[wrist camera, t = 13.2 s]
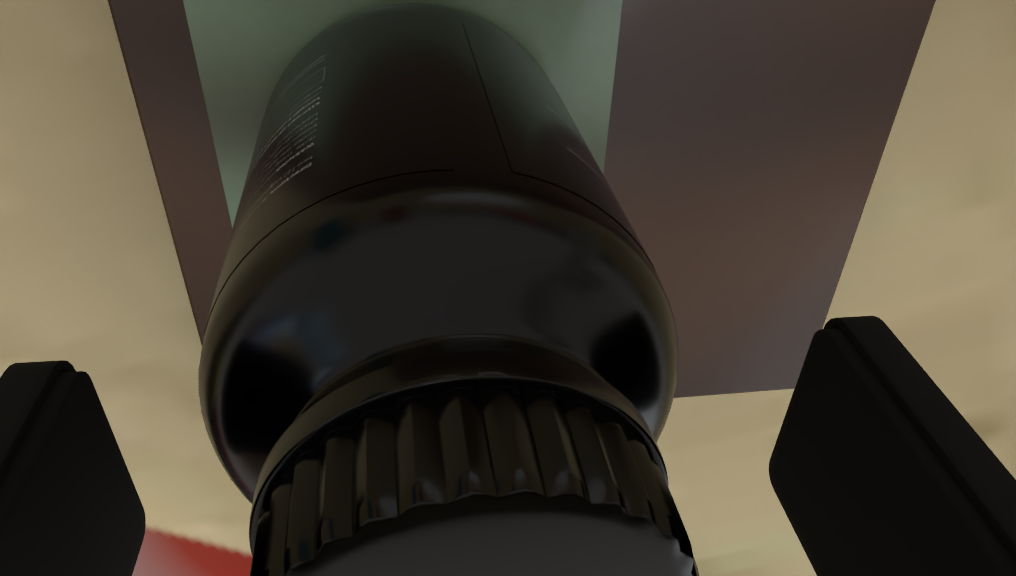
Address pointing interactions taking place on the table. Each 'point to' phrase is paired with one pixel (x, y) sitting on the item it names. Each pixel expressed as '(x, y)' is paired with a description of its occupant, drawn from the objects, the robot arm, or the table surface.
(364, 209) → the supplement bottle
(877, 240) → the table surface
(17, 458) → the robot arm
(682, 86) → the walnut board
